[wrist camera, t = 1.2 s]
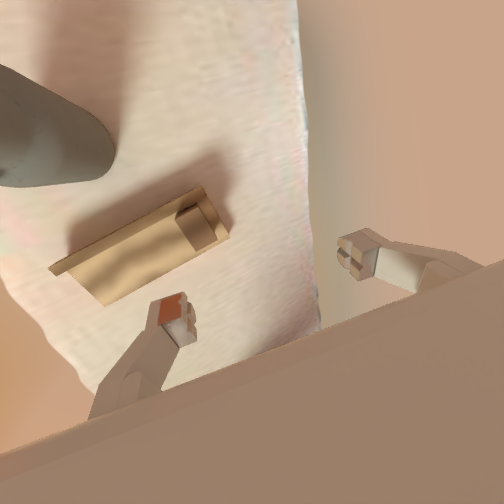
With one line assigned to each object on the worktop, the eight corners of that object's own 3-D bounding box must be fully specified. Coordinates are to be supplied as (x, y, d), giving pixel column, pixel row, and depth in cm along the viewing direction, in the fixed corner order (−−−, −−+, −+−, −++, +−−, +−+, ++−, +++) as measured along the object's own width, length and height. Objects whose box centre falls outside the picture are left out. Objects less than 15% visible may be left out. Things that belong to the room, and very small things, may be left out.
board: (228, 234, 41) (232, 241, 37) (108, 300, 40) (99, 315, 36) (200, 184, 37) (201, 186, 33) (63, 257, 35) (47, 268, 31)
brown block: (217, 236, 39) (221, 245, 34) (198, 247, 38) (199, 257, 34) (197, 202, 36) (198, 207, 31) (176, 213, 35) (174, 219, 31)
